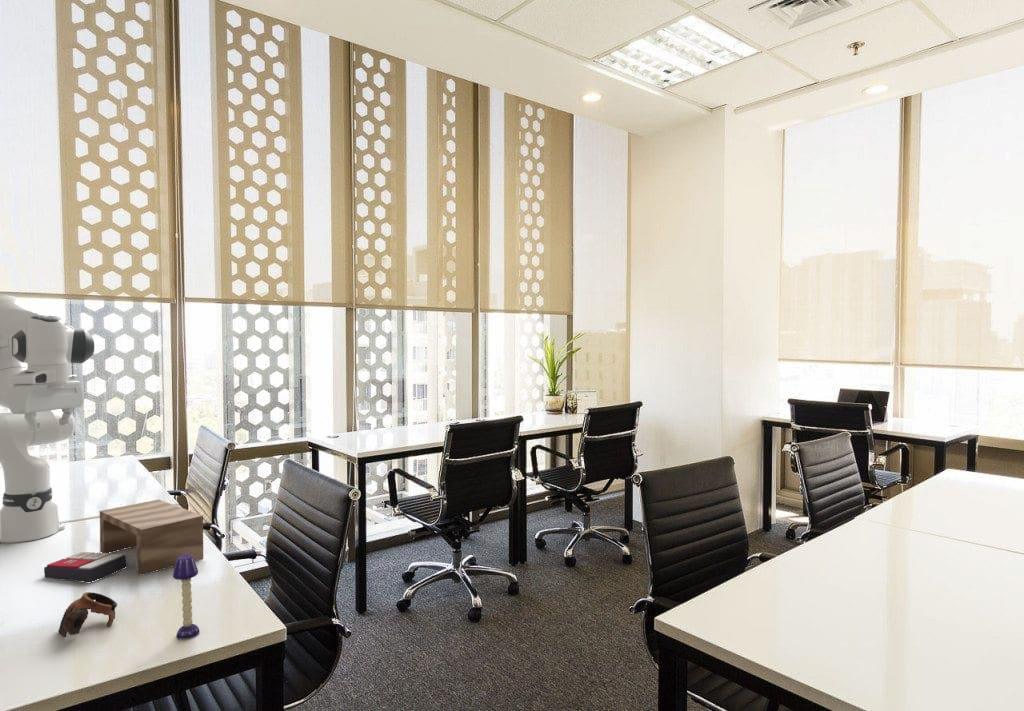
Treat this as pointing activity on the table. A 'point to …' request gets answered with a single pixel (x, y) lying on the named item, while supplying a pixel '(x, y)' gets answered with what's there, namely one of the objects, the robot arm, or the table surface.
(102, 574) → the calculator
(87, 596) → the brown curved loop
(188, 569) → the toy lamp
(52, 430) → the robot arm
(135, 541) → the monitor riser
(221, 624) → the table surface
